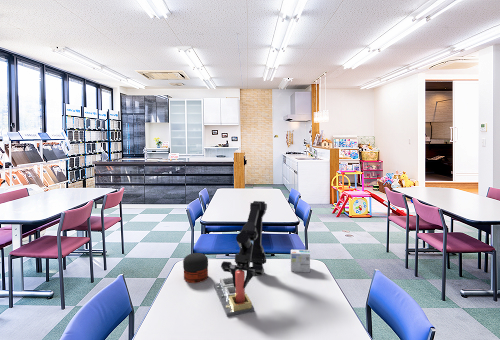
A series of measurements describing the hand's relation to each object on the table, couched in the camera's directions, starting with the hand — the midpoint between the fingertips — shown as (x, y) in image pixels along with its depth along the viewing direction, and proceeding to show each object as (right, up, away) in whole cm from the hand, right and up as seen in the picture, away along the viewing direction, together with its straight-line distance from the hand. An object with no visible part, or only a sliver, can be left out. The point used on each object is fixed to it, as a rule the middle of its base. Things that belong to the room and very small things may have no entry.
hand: (239, 287), depth 133 cm
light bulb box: (+33, -6, +41) cm, 53 cm away
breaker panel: (-3, -9, +11) cm, 14 cm away
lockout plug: (0, -6, +2) cm, 7 cm away
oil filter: (-24, -7, +32) cm, 41 cm away
